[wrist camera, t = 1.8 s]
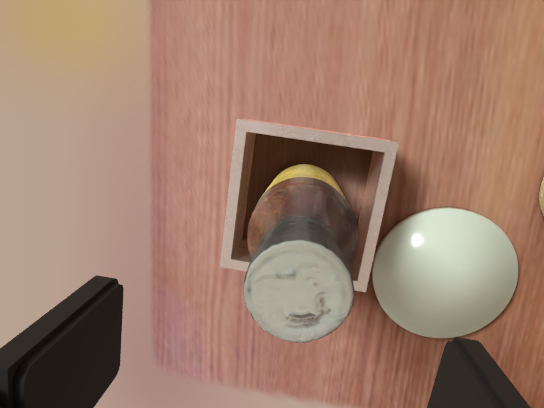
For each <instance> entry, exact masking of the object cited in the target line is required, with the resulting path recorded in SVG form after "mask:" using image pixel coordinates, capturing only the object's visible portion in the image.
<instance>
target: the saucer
mask: <svg viewBox="0 0 544 408" xmlns="http://www.w3.org/2000/svg"><path fill="white" fill-rule="evenodd" d="M517 280H518V261H517V256H516V253H515V250H514V247H513V245H512V243H511V242H510V240H509V238H508V237H507V236H506V234H505V233H504V232H503V231H502V230H501V229H500V228H499V227H498V226H497V225H496V224H494V223H493V222H491V221H490V220H488V219H487V218H485V217H483V216H481V215H479V214H477V213H475V212H472V211H469V210H466V209H461V208H454V207H438V208H431V209H427V210H423V211H420V212H418V213H415V214H413V215H411V216H409V217H407V218H405V219H403V220H402V221H401V222H399V223H398V224H397V225H395V226H394V227H393V228H392V229H391V230H390V231H389V232H388V233H387V235H386V236H385V237H384V238H383V240H382V241H381V243H380V245H379V246H378V249H377V251H376V253H375V256H374V260H373V265H372V282H373V287H374V291H375V294H376V297H377V299H378V301H379V303H380V305H381V307H382V308H383V310H384V311H385V313H386V314H387V315H388V316H389V317H390V318H391V319H392V320H393V321H394V322H395V323H397V324H398V325H399V326H401V327H402V328H404V329H406V330H408V331H410V332H412V333H415V334H418V335H421V336H425V337H432V338H452V337H458V336H463V335H466V334H469V333H472V332H474V331H476V330H479V329H481V328H482V327H484V326H486V325H487V324H489V323H490V322H491V321H493V320H494V319H495V318H496V317H497V316H498V315H499V314H500V313H501V312H502V311H503V310H504V309H505V307H506V306H507V305H508V303H509V301H510V299H511V298H512V296H513V293H514V291H515V288H516V284H517Z"/></svg>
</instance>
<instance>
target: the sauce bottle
mask: <svg viewBox="0 0 544 408" xmlns="http://www.w3.org/2000/svg"><path fill="white" fill-rule="evenodd" d="M247 236H248V239H247V240H248V248H249V252H250V255H251V257H252V258H251V260H250V263H249V266H248V269H247V272H246V275H245V280H244V286H243V292H244V300H245V304H246V306H247V309H248V311H249V312H250V313H251V316H252V318H253V319H254V320H255V321H256V322H257V323H258V325H259V326H260V327H261V328H262V329H263V330H265V331H266V332H267V333H269V334H270V335H273V336H275V337H277V338H279V339H281V340H285V341H290V342H296V343H297V342H302V343H305V342H310V341H313V340H316V339H320V338H322V337H324V336H326V335H328V334H330V333H331V332H333V331H334V330H336V329H337V328H338V327H339V326H341V324H342V323H343V321H344V320H345V319H346V318H347V317H348V315H349V313H350V311H351V308H352V305H353V298H354V285H353V278H352V272H351V268H350V265H349V262H350V260H351V258H352V257H353V255H354V252H355V249H356V246H357V240H358V230H357V223H356V219H355V216H354V213H353V211H352V209H351V207H350V205H349V203H348V202H347V200H346V198H345V196H344V195H343V193H342V191H341V189H340V187H339V186H338V184H337V182H336V181H335V179H334V178H333V177H332V176H331V175H330V174H329V173H328V172H326V171H325V170H323V169H321V168H319V167H317V166H314V165H309V164H300V165H295V166H292V167H289V168H287V169H285V170H284V171H282V172H281V173H280V174H279V175H278V176H277V177H276V178H275V179H274V180H273V182H272V183H271V184H270V186H269V187H268V188H267V190H266V191H265V192H264V194H263V195H262V197H261V198H260V199H259V201H258V203H257V205H256V207H255V210H254V211H253V213H252V216H251V218H250V222H249V225H248V233H247Z"/></svg>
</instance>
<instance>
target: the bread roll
mask: <svg viewBox="0 0 544 408" xmlns="http://www.w3.org/2000/svg"><path fill="white" fill-rule="evenodd" d="M539 203H540V209H541V211H542V214H543V216H544V177H543V180H542V183H541V188H540V193H539Z"/></svg>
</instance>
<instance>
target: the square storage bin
mask: <svg viewBox="0 0 544 408" xmlns="http://www.w3.org/2000/svg"><path fill="white" fill-rule="evenodd" d="M256 133H259V134H266V135H272V136H279V137H286V138H292V139H299V140H306V141H313V142H319V143H326V144H333V145H339V146H346V147H353V148H360V149H366V150H373V152H372V157H371V162H370V167H369V171H368V176H367V181H366V186H365V191H364V196H363V201H362V206H361V210H360V215H359V220H358V225H357V230H358V240H357V246H356V249H355V252H354V255H353V257H352V258H351V260H350V262H349V265H350V268H351V272H352V278H353V285H354V290H355V291H361V292H366V289H367V285H368V280H369V276H370V271H371V267H372V262H373V258H374V253H375V249H376V244H377V240H378V235H379V231H380V226H381V222H382V217H383V213H384V208H385V204H386V199H387V195H388V190H389V185H390V181H391V176H392V172H393V167H394V163H395V158H396V154H397V149H398V145H399V142H395V141H392V140H388V139H384V138H377V137H370V136H363V135H356V134H350V133H343V132H336V131H329V130H322V129H315V128H309V127H302V126H295V125H288V124H281V123H274V122H268V121H261V120H254V119H237V121H236V130H235V138H234V147H233V156H232V165H231V174H230V182H229V191H228V200H227V209H226V218H225V226H224V235H223V244H222V253H221V261H220V267H224V268H229V269H235V270H241V271H247V269H248V266H249V263H250V260H251V258H252V257H251V255H250V252H249V248H248V240H245V239H242V238H243V230H244V222H245V214H246V207H247V199H248V191H249V183H250V175H251V167H252V159H253V152H254V144H255V136H256Z"/></svg>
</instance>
